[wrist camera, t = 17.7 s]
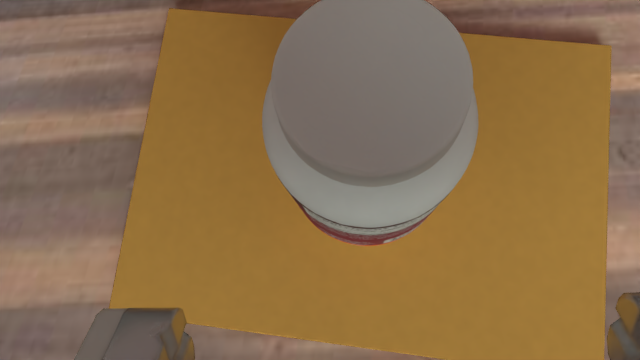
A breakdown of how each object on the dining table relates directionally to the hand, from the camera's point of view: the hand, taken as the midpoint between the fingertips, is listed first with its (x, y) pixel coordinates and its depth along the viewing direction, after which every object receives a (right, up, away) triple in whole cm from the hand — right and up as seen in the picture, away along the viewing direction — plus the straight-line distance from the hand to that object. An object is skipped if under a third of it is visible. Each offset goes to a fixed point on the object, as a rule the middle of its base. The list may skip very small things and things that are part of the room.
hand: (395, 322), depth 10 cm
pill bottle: (0, +3, +13) cm, 13 cm away
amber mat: (+1, +3, +14) cm, 14 cm away
